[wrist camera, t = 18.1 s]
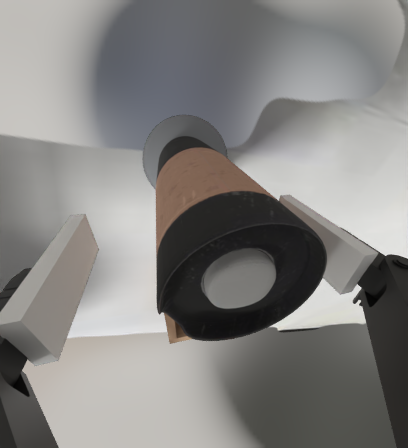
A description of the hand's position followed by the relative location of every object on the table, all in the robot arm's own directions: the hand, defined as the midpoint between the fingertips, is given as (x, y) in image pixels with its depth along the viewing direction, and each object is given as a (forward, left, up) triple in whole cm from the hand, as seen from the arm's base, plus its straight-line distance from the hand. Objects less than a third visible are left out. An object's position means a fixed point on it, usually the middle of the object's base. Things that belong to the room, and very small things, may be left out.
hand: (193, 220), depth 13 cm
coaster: (+1, 0, -14) cm, 15 cm away
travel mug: (+1, 0, -14) cm, 14 cm away
